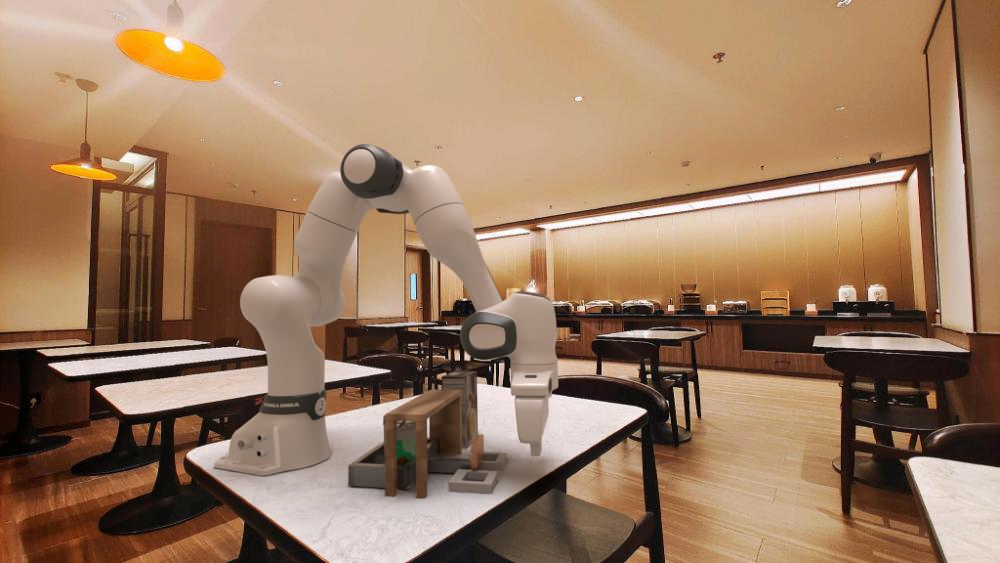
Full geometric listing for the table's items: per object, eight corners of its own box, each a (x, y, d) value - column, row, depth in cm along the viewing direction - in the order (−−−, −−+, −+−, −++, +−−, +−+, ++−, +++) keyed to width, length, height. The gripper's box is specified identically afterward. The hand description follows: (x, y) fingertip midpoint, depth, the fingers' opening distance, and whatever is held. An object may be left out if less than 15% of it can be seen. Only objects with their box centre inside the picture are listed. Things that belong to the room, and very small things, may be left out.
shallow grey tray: (348, 485, 73) (348, 449, 74) (391, 452, 90) (391, 423, 91) (468, 492, 69) (467, 454, 70) (490, 456, 86) (489, 426, 87)
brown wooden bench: (385, 495, 69) (385, 413, 70) (431, 451, 91) (431, 389, 92) (424, 498, 68) (424, 414, 69) (462, 453, 90) (461, 390, 91)
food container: (430, 480, 75) (429, 424, 76) (396, 487, 73) (396, 429, 74) (412, 459, 86) (412, 411, 87) (382, 465, 84) (382, 414, 85)
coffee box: (453, 435, 103) (453, 370, 104) (478, 436, 102) (477, 370, 103) (441, 447, 94) (440, 376, 95) (468, 448, 93) (467, 376, 94)
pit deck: (448, 491, 70) (448, 482, 71) (471, 458, 86) (471, 451, 86) (491, 493, 69) (491, 484, 69) (507, 460, 85) (506, 452, 85)
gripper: (524, 370, 88) (526, 436, 87) (509, 387, 68) (510, 474, 67) (554, 370, 87) (556, 437, 86) (547, 387, 67) (550, 476, 66)
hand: (536, 454), depth 76 cm, fingers closed
